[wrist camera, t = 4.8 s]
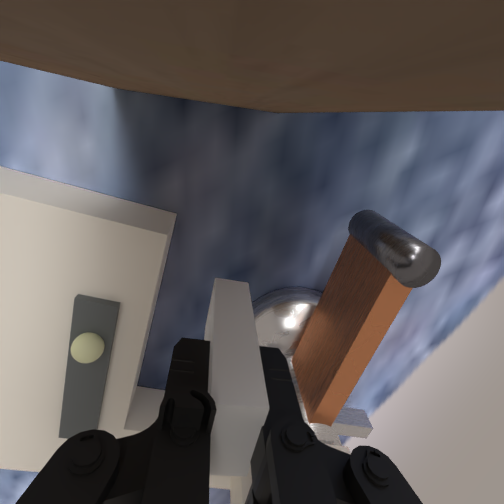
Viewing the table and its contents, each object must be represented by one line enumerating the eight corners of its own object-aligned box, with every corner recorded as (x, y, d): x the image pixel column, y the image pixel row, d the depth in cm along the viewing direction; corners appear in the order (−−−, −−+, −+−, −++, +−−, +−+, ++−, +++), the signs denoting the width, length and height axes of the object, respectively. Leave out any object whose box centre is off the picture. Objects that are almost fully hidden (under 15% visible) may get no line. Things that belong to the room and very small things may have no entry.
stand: (-105, 138, 17) (-590, 174, 7) (393, 272, 24) (525, 393, 14) (-74, 408, 26) (-279, 612, 15) (294, 453, 32) (329, 616, 22)
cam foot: (314, 397, 29) (351, 509, 21) (213, 380, 27) (210, 497, 19) (410, 215, 22) (521, 275, 14) (286, 176, 20) (330, 219, 12)
